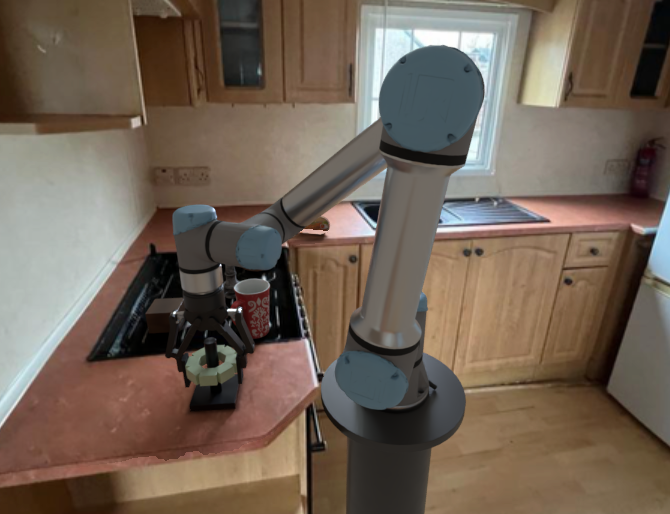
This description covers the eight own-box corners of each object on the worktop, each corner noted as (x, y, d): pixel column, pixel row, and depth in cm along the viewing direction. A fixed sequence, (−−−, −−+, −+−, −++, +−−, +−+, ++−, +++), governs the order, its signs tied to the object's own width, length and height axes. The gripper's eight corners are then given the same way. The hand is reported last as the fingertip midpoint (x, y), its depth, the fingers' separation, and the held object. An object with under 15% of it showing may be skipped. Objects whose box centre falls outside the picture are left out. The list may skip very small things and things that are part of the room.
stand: (241, 379, 92) (235, 327, 87) (235, 408, 83) (229, 353, 78) (199, 381, 91) (192, 329, 86) (190, 411, 82) (181, 355, 78)
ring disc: (241, 353, 90) (240, 343, 89) (234, 384, 80) (233, 374, 80) (194, 355, 89) (192, 346, 88) (182, 387, 80) (180, 377, 79)
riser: (187, 316, 116) (184, 297, 114) (179, 331, 109) (176, 312, 107) (158, 317, 116) (154, 298, 114) (148, 333, 108) (145, 313, 106)
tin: (296, 233, 181) (295, 215, 178) (298, 231, 184) (297, 213, 181) (329, 236, 178) (328, 217, 175) (330, 233, 181) (330, 215, 178)
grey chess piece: (233, 300, 125) (229, 264, 121) (219, 296, 128) (215, 260, 123) (246, 292, 130) (243, 257, 125) (232, 288, 132) (228, 254, 128)
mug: (253, 318, 115) (249, 275, 110) (279, 327, 111) (276, 282, 106) (221, 342, 105) (215, 295, 100) (248, 352, 101) (244, 304, 96)
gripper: (264, 275, 82) (270, 366, 90) (148, 279, 80) (164, 372, 88) (261, 293, 75) (268, 390, 83) (134, 298, 73) (153, 397, 81)
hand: (215, 381), depth 86 cm, fingers closed on ring disc, 10 cm apart
